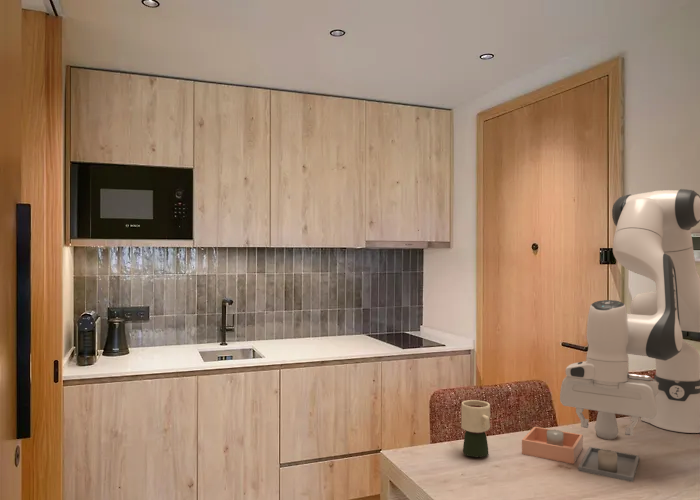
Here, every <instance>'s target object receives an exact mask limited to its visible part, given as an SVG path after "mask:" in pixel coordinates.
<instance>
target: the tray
mask: <svg viewBox="0 0 700 500" xmlns="http://www.w3.org/2000/svg"><path fill="white" fill-rule="evenodd" d="M599 450H606V449H604V448H600V447H593V446H589V447H588V449H587V451H586V453H585V454H584V456H583V458H582V460H581V462H580V463H579V465H578V472H583V473H587V474H592V475H598V476H602V477H607V478H612V479H617V480H621V481H627V482H631V483H634V479H635V476H636V472H637V469H638V465H639V462H640V455H638V454H637V455H636V454H633V453H632V454H631V453H627V452H621V451H617V450H613V451H614V452H616V453H617V472H616V473H612V472H607V471H602V470H599V469H598V451H599Z"/></svg>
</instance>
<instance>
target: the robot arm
mask: <svg viewBox="0 0 700 500" xmlns="http://www.w3.org/2000/svg"><path fill="white" fill-rule="evenodd" d="M611 216H612V221H613V224H614V225H615V232H614V235H613V241H612V253H613V257H614V258H615V260H616V261H617V262H618V264H620V265H621V266H622V267H623V268H624V269H626V270H629V272H632V273H634V274H637V275H640V276H642V277H645V278H647V279H650V280H651V281H653V282H654V283H655V286H656V287H655V288H656V289H655V291H646V292H639V293H637V294H636V295H635V296H634V297H633V298H632V300H631V302H630V307H629V308H630V311H629V312H630V313H628V311H627V307H626V304H625V303H624V302H622V301H619V300H615V299H614V300H613V299H606V300H605V299H604V300H598V301H597V300H596V301H595V302H593V303H591V304H590V306H589V311H588V315H587V322H586V323H587V324H586V340H587V344H588V345H587V346H588V348H587V352H586V360H585V361H584V360H583V361H578V362H574V363H570V364H569V365H567V366H566V368H565V377H564V378H563V380H562V381H561V386H560V393H559V401H560V403H561V404H562V406H564V407H570V408H571V407H572V408H575V414H576V415H577V416H578V419H579V420H580V427H581V428H586V429H588V428H589V427H590V426H589V425H590V424H589V420H590V419H589V418H585V417H586V416H584V414H583V412H584V410H589V411H596V412H598V411H602V412H609V413H615V415H623V416H629V417H630V420H631V422H632V423H631V424H630V425H625V435H626V436H632V437H633V436H634V428H635V427H636V426H637V424H638V422H639V419H640V420H641V421H643V422H646V423H648V424H651V425H653V426H655V427H657V428H660V429H664V430H667V431H671V432H679V433H688V434H689V433H691V434H696V433H697V434H698V433H700V353H699V351H698V350H697V349H696V347H694V346H693V345H691V344H690V343H688V342H686V341H685V340H684V339H683V338H684V337H683V332H682V331H684V332H691V333H692V332H693V333H700V275H699V273H698V269H697V265H696V261H695V260H696V259H695V253H694V252H695V250H694V244H693V238H692V237H693V236H692V232H691V229H692V228H694V227H696V226H697V225H699V223H700V194H699V193H697V192H696V191H695V190H694V189H693V190H692V189H684V188H681V189H679V190H675V189H673V190H672V189H667V190H666V189H665V190H663V189H662V190H653V191H648V192H647V191H646V192H641V193H636V194H626V195H622V196H619V197H618V199H616V200H615V202H614V203H613V205H612V210H611ZM629 355H633V356H642V357H648V358H651V359H655V375H654V378H653V377H652V376H651V375H646V374H645V375H641V374H638V373H637V374H635V373H629Z"/></svg>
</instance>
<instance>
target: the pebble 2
mask: <svg viewBox="0 0 700 500" xmlns="http://www.w3.org/2000/svg"><path fill="white" fill-rule="evenodd" d="M614 451H615V450H612V449H611V450H610V449H605V450H599V451H598V469H599V470H602V471H607V472H612V473H616V472H617V453H616V452H617V451H616V452H614Z"/></svg>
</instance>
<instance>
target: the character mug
mask: <svg viewBox="0 0 700 500" xmlns="http://www.w3.org/2000/svg"><path fill="white" fill-rule="evenodd" d="M460 414H461V423H460V424H461V429H462V430H463V431H465V433H464V438H463V444H462V445H463V447H462V452H463V454H464V455H465V456H469V457H474V458H475V457H477V458H481V457H488V456H489V444H488V439H487V434H486V432H488V431H489V430H490V428H491V423H490V418H491V404H490V403H489V402H488V401H484V400H479V399H470V400H469V399H468V400H463V401H462V402H461V413H460Z"/></svg>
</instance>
